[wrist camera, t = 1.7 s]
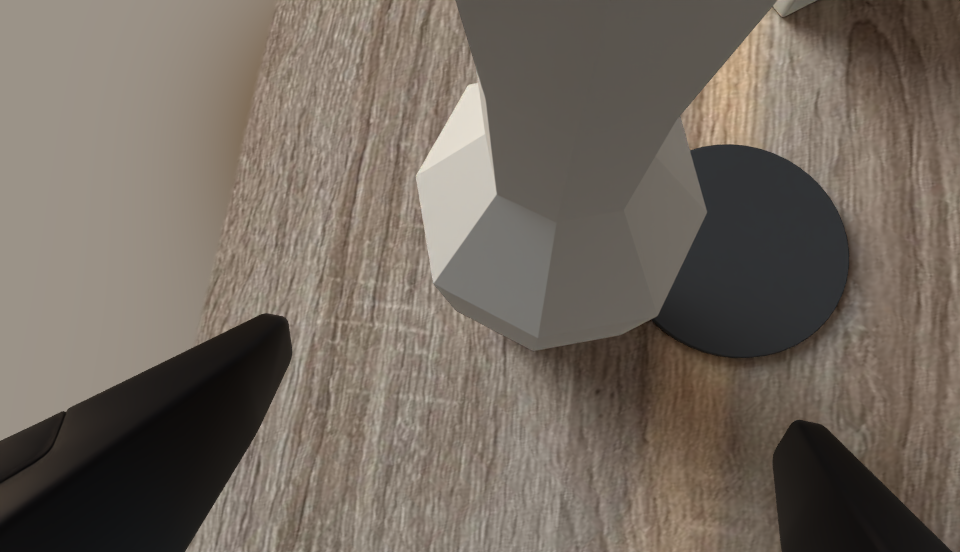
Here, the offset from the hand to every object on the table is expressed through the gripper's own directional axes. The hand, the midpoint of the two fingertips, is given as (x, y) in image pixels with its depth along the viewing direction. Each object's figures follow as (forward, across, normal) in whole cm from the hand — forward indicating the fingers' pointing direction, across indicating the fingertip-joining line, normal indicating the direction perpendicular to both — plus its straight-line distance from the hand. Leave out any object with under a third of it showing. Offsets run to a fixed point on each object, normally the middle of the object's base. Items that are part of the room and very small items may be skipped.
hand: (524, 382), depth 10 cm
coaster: (+14, -8, +4) cm, 16 cm away
